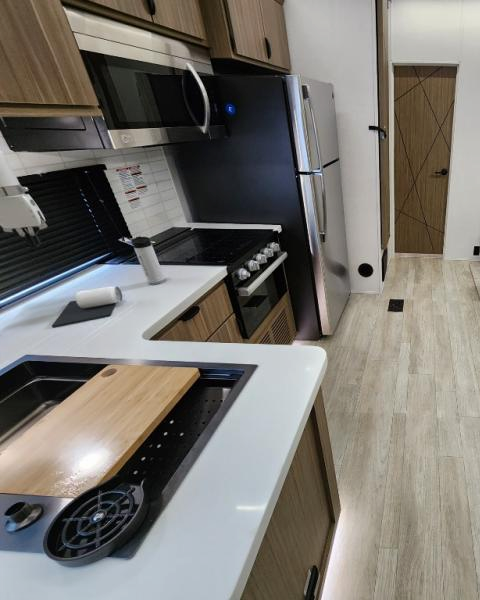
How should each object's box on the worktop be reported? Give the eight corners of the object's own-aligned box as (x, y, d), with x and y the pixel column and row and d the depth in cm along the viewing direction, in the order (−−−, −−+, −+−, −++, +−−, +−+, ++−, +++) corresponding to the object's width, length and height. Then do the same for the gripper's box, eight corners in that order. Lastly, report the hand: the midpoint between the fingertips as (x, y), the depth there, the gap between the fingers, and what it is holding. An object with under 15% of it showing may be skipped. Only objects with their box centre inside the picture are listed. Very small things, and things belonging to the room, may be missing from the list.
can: (72, 292, 119) (113, 286, 124) (80, 291, 125) (119, 284, 129) (78, 310, 120) (118, 302, 125) (86, 307, 126) (124, 300, 131)
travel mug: (163, 277, 150) (146, 234, 140) (167, 281, 146) (150, 238, 136) (147, 281, 146) (129, 238, 137) (150, 286, 142) (132, 241, 132)
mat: (52, 327, 113) (51, 325, 113) (70, 303, 129) (69, 301, 129) (110, 316, 120) (109, 314, 120) (120, 294, 136) (120, 292, 135)
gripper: (42, 188, 112) (67, 240, 121) (-20, 191, 106) (11, 246, 115) (32, 191, 106) (60, 246, 115) (-34, 195, 100) (1, 253, 109)
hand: (35, 246), depth 115 cm, fingers closed
